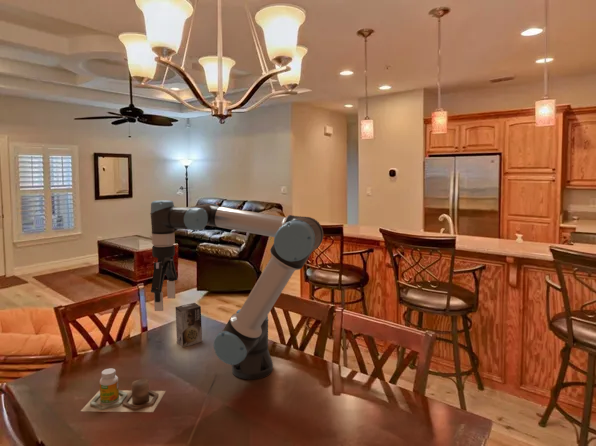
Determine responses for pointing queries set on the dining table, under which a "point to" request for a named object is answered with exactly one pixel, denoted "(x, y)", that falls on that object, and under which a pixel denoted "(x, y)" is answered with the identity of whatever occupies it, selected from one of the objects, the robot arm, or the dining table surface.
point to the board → (124, 403)
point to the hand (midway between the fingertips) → (165, 304)
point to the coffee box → (188, 324)
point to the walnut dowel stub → (140, 391)
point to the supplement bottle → (109, 387)
